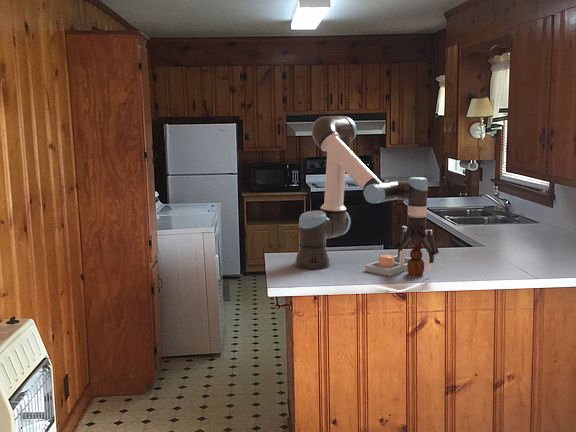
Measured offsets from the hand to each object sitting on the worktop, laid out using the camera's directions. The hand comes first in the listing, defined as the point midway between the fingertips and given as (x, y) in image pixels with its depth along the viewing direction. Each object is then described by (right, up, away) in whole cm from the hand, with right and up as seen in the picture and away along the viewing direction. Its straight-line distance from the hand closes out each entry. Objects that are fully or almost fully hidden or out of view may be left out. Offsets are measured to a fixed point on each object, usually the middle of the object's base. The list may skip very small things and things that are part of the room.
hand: (415, 268), depth 262 cm
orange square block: (-11, -2, +7) cm, 13 cm away
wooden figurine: (0, -4, +1) cm, 4 cm away
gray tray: (-7, -2, +11) cm, 13 cm away
